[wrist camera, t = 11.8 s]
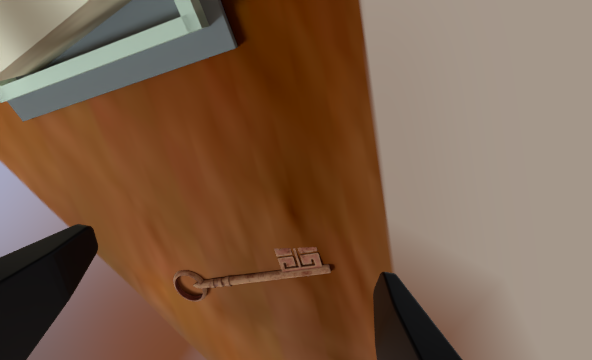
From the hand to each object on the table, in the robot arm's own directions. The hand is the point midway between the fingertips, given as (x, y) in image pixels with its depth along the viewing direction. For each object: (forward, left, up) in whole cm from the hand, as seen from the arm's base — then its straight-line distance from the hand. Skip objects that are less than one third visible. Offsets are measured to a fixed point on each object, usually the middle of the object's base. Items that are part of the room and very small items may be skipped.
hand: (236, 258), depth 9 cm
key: (+14, +4, -13) cm, 19 cm away
